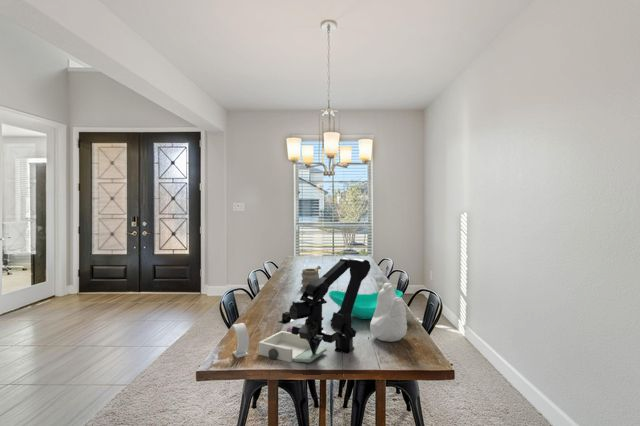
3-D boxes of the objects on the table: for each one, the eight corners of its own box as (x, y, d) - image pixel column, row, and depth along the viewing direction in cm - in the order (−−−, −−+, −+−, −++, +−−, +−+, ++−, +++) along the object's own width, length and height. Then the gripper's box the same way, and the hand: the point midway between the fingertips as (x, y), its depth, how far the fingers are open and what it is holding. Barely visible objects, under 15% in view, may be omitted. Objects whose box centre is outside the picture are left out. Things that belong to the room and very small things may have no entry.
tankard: (312, 293, 262) (312, 270, 262) (297, 290, 269) (297, 268, 268) (328, 287, 279) (328, 266, 278) (313, 285, 286) (313, 264, 285)
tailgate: (311, 350, 166) (326, 350, 162) (293, 361, 154) (309, 362, 151) (310, 347, 166) (326, 348, 162) (293, 358, 154) (309, 359, 151)
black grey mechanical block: (289, 317, 212) (289, 309, 212) (299, 320, 208) (299, 311, 208) (273, 323, 202) (273, 314, 202) (284, 326, 198) (284, 317, 197)
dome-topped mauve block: (309, 338, 180) (309, 328, 179) (304, 341, 176) (304, 331, 176) (290, 333, 185) (290, 324, 185) (284, 336, 181) (284, 327, 181)
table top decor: (330, 326, 195) (330, 300, 195) (326, 310, 223) (326, 287, 222) (409, 325, 198) (410, 298, 197) (395, 309, 225) (395, 286, 225)
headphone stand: (243, 351, 164) (243, 322, 164) (249, 356, 159) (248, 326, 159) (232, 353, 162) (232, 324, 161) (238, 358, 157) (238, 328, 156)
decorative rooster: (368, 331, 188) (368, 280, 187) (401, 331, 188) (401, 279, 187) (376, 352, 163) (376, 293, 162) (414, 352, 163) (414, 293, 162)
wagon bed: (313, 347, 168) (313, 336, 168) (288, 363, 152) (288, 350, 152) (283, 340, 176) (283, 329, 176) (256, 355, 160) (256, 343, 160)
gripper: (283, 316, 154) (282, 355, 155) (325, 325, 145) (324, 367, 146) (299, 309, 164) (298, 346, 165) (339, 317, 154) (338, 356, 155)
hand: (313, 354), depth 157 cm, fingers closed, pressing on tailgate
